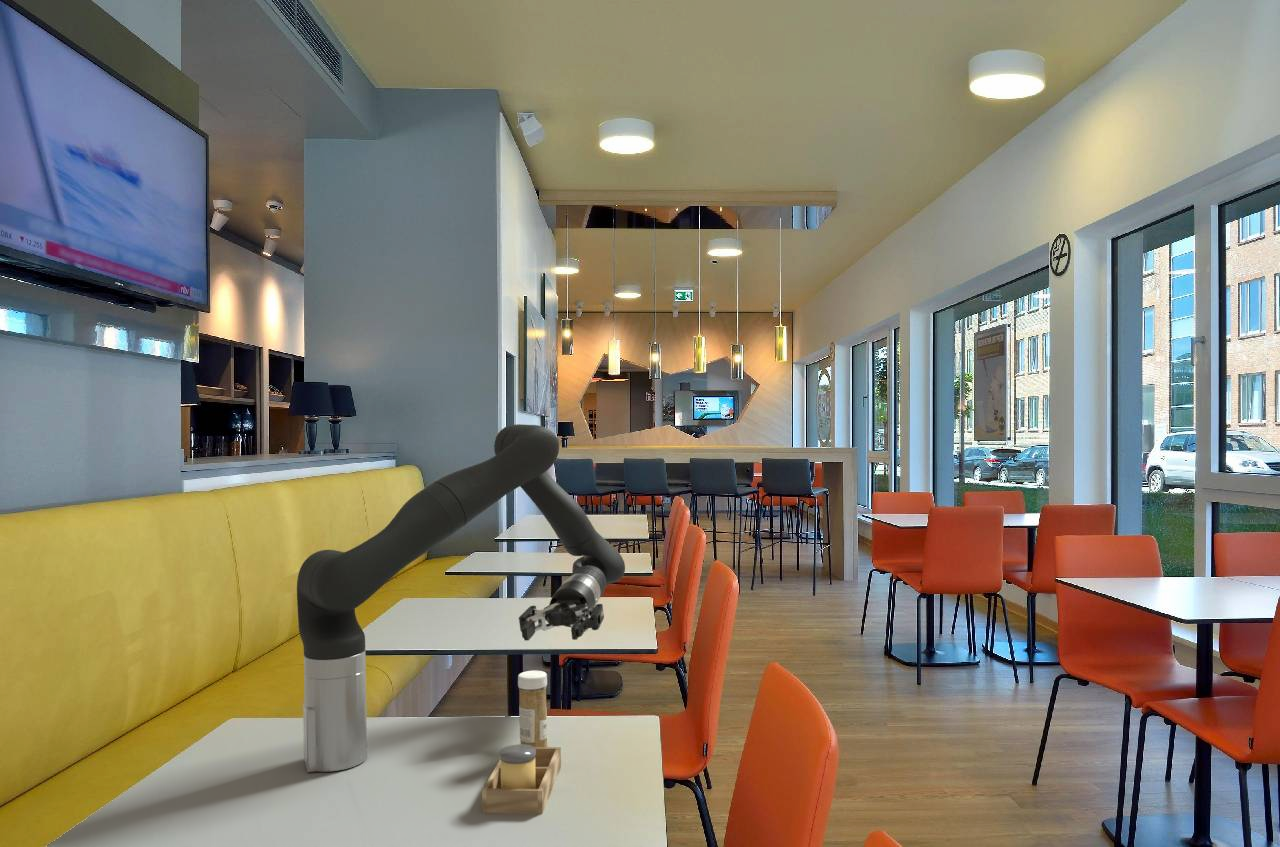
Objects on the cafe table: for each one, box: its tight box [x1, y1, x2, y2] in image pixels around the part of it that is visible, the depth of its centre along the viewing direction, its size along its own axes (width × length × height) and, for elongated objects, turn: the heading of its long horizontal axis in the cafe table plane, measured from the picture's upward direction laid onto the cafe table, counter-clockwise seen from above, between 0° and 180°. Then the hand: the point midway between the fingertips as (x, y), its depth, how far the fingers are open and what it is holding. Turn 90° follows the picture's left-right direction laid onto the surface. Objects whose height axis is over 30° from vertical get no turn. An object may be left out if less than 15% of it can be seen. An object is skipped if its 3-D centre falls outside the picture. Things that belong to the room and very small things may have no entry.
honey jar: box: [499, 743, 536, 789], centre depth 120 cm, size 5×5×7 cm
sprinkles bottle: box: [517, 670, 548, 747], centre depth 137 cm, size 5×5×14 cm
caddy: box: [481, 746, 562, 815], centre depth 124 cm, size 16×8×4 cm, turn 176°
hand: (549, 634), depth 145 cm, fingers open, 8 cm apart
